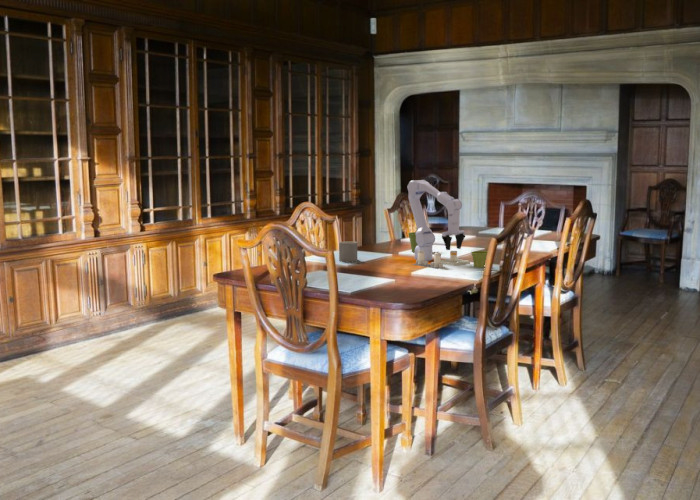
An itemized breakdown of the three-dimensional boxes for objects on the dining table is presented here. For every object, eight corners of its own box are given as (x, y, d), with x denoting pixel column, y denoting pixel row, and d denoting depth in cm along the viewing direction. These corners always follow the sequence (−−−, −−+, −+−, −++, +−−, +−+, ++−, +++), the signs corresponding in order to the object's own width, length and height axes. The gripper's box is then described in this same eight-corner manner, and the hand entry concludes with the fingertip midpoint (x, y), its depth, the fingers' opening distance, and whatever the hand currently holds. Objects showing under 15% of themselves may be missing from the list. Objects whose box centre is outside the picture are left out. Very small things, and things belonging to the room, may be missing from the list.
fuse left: (416, 264, 368) (416, 250, 367) (421, 263, 370) (421, 250, 369) (420, 265, 365) (421, 251, 364) (426, 264, 367) (426, 250, 366)
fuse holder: (411, 267, 369) (411, 260, 368) (421, 265, 373) (421, 259, 372) (437, 271, 353) (437, 264, 353) (447, 270, 358) (447, 263, 357)
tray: (436, 265, 373) (436, 260, 373) (453, 263, 380) (453, 258, 380) (453, 268, 363) (453, 263, 363) (470, 265, 370) (470, 260, 370)
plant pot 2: (475, 271, 354) (476, 253, 352) (467, 268, 363) (467, 251, 361) (493, 270, 356) (493, 253, 355) (484, 267, 365) (484, 250, 364)
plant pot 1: (427, 250, 430) (427, 231, 429) (427, 253, 418) (427, 234, 417) (407, 250, 431) (407, 231, 430) (407, 253, 420) (407, 234, 418)
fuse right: (432, 267, 358) (432, 253, 358) (437, 266, 361) (437, 252, 360) (437, 268, 356) (437, 254, 355) (442, 267, 358) (442, 253, 357)
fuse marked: (448, 264, 372) (448, 251, 371) (453, 263, 374) (453, 250, 373) (453, 265, 369) (453, 251, 368) (458, 264, 371) (458, 251, 370)
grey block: (352, 262, 387) (352, 244, 386) (336, 261, 392) (335, 243, 390) (363, 259, 399) (362, 241, 398) (346, 258, 403) (346, 240, 402)
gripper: (449, 224, 361) (448, 251, 363) (469, 222, 370) (468, 248, 372) (439, 223, 367) (439, 249, 369) (459, 221, 375) (459, 247, 377)
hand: (453, 249), depth 371 cm, fingers open, 7 cm apart
